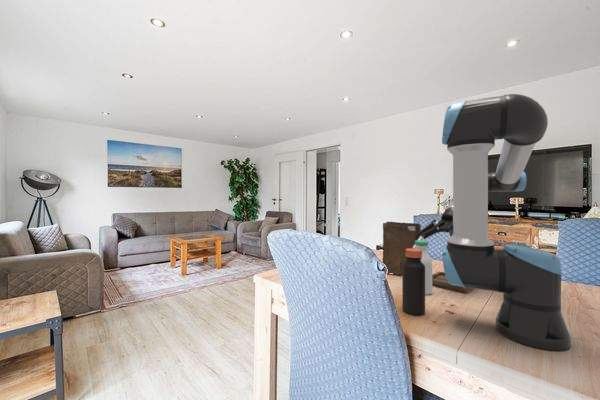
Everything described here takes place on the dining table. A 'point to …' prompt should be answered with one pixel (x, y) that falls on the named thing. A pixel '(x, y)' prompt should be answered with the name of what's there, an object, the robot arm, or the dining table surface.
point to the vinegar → (413, 283)
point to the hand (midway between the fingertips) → (428, 252)
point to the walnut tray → (441, 282)
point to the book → (398, 244)
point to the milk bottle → (426, 264)
